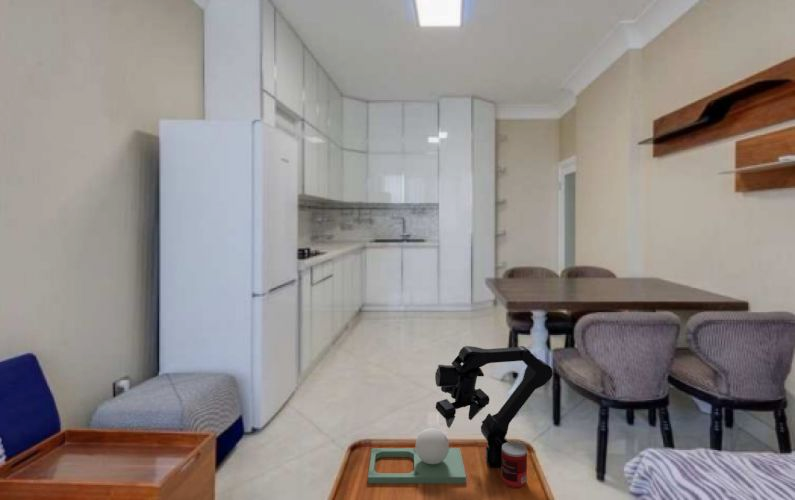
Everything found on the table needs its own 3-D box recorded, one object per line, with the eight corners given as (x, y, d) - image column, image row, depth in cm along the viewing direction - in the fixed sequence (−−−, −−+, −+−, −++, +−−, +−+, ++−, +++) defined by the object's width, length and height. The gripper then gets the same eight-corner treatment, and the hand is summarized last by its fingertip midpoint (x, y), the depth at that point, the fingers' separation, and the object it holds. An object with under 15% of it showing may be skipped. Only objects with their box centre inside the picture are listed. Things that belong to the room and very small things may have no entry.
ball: (447, 452, 155) (447, 421, 154) (450, 471, 144) (450, 438, 143) (415, 452, 156) (415, 422, 155) (416, 471, 145) (415, 438, 144)
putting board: (459, 453, 158) (459, 448, 158) (466, 483, 142) (466, 477, 141) (371, 453, 159) (371, 448, 159) (367, 483, 142) (367, 477, 142)
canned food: (524, 474, 146) (524, 441, 145) (528, 489, 138) (529, 455, 137) (499, 473, 147) (500, 440, 146) (503, 488, 139) (503, 454, 138)
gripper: (472, 365, 160) (466, 401, 166) (429, 377, 151) (423, 415, 156) (494, 383, 152) (486, 421, 157) (449, 397, 142) (442, 437, 148)
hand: (459, 423), depth 155 cm, fingers open, 9 cm apart
